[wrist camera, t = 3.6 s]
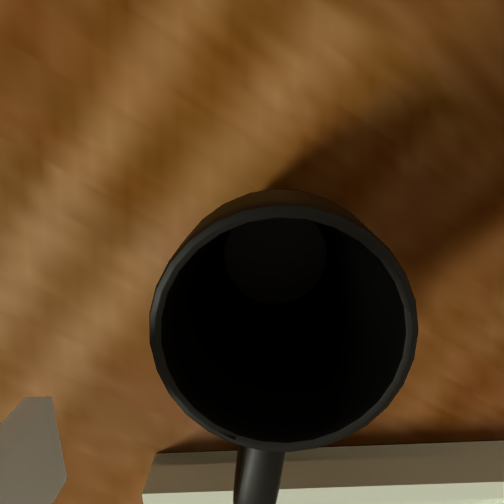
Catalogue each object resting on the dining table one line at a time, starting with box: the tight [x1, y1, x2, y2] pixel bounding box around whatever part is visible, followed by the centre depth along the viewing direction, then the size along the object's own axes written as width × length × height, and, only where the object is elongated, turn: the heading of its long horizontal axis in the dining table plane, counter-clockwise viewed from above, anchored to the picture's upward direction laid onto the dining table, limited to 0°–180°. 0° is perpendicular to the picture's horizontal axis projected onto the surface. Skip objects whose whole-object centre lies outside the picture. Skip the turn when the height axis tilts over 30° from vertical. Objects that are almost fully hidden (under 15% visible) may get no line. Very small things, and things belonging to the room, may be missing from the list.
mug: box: [149, 189, 418, 504], centre depth 19 cm, size 8×12×10 cm
